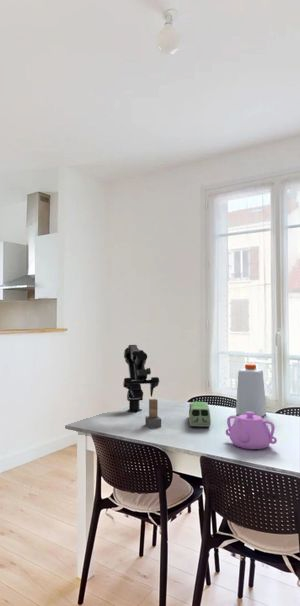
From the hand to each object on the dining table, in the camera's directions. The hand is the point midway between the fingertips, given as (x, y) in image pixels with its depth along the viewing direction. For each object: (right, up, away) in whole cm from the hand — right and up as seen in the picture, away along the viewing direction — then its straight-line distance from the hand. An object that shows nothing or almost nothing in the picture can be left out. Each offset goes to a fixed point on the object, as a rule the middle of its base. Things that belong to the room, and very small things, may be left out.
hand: (142, 396), depth 195 cm
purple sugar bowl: (+45, -11, -39) cm, 60 cm away
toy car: (+29, -14, -1) cm, 32 cm away
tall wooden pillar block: (+5, -13, -7) cm, 16 cm away
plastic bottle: (+61, -15, +17) cm, 65 cm away
